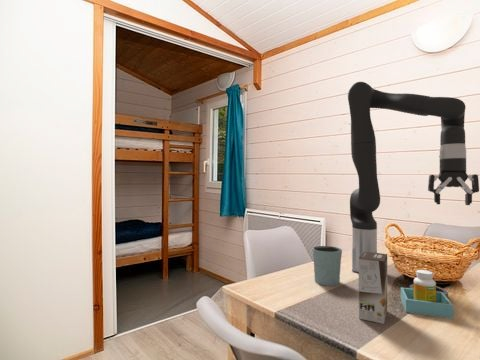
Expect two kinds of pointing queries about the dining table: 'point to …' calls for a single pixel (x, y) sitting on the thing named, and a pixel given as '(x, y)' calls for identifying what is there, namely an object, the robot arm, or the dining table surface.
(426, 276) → the supplement bottle
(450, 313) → the tray
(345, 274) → the dining table surface
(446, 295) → the holder
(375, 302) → the coffee box
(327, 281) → the teal cup
